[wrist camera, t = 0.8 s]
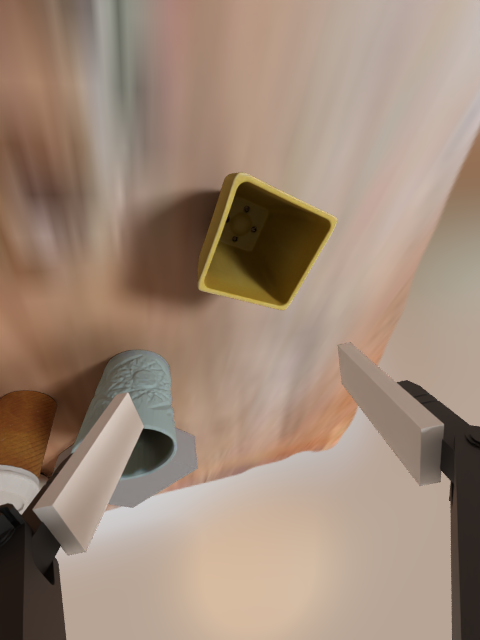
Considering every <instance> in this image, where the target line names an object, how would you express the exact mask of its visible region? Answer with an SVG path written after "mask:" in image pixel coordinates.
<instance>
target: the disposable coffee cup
mask: <svg viewBox="0 0 480 640" xmlns="http://www.w3.org/2000/svg"><path fill="white" fill-rule="evenodd" d="M56 409H57V405H56V402H55V401H54V400H53V399H52V398H51V397H49V396H47V395H45V394H42V393H39V392H34V391H16V392H12V393H9V394H7V395H5V396H4V397H2V398H1V400H0V505H3V504H7V503H10V504H13V505H14V507H15V508H16V509H17V510H18V512H19V513H20V514H22V513H23V512H24V511H25V510H26V508H27V507H28V506H29V504H30V503H31V502H32V500H33V499H34V498H35V496H36V495H37V494H38V492H39V490H40V488H39V480H38V479H39V476H40V471H41V467H42V464H43V459H44V455H45V451H46V448H47V444H48V440H49V435H50V431H51V427H52V424H53V420H54V416H55V412H56Z"/></svg>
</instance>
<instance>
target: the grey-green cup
mask: <svg viewBox="0 0 480 640" xmlns="http://www.w3.org/2000/svg"><path fill="white" fill-rule="evenodd" d="M170 387H171V376H170V368H169V365H168V363H167V362H166V361H165V359H164V358H162V357H161V356H160V355H158V354H156V353H154V352H151V351H146V350H129V351H125V352H122V353H120V354H118V355H116V356H114V357H113V358H112V359H111V360H110V361H109V362H108V364H107V365H106V367H105V370H104V372H103V375H102V378H101V380H100V382H99V384H98V387H97V389H96V391H95V397H94V398H93V399H92V401H91V403H90V406H89V408H88V411H87V413H86V416H85V418H84V421H83V423H82V426H81V428H80V431H79V433H78V436H77V438H76V441H75V443H74V445H73V448H72V450H71V453H74V452H75V450H76V449H77V448H78V446H79V445H80V444H81V442H82V441H83V439H84V438H85V437H86V435H87V434H88V433H89V431H90V430H91V429H92V427H93V426H94V424H95V423H96V422H97V420H98V419H99V418H100V416H101V415H102V413H103V412H104V411H105V409H106V408H107V407H108V405H109V404H110V403H111V401H112V400H113V398H114V397H115V396H116V395H117V394H122V393H126V392H128V393H129V395H130V397H131V400H132V402H133V404H134V406H135V408H136V410H137V413H138V415H139V417H140V419H141V421H142V423H143V426H144V427H143V430H142V432H141V434H140V436H139V438H138V440H137V443H136V445H135V447H134V449H133V451H132V453H131V456H130V458H129V460H128V462H127V464H126V466H125V469H124V471H123V473H122V475H121V477H120V479H119V480H128V479H134V478H138V477H142V476H146V475H148V474H151V473H153V472H155V471H157V470H159V469H161V468H162V467H164V466H165V465H167V464H168V463H169V462H170V461H171V460H172V458H173V457H174V455H175V453H176V451H177V440H176V432H175V422H174V412H173V408H172V406H171V403H172V397H171V390H170ZM71 453H70V454H71Z"/></svg>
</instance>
